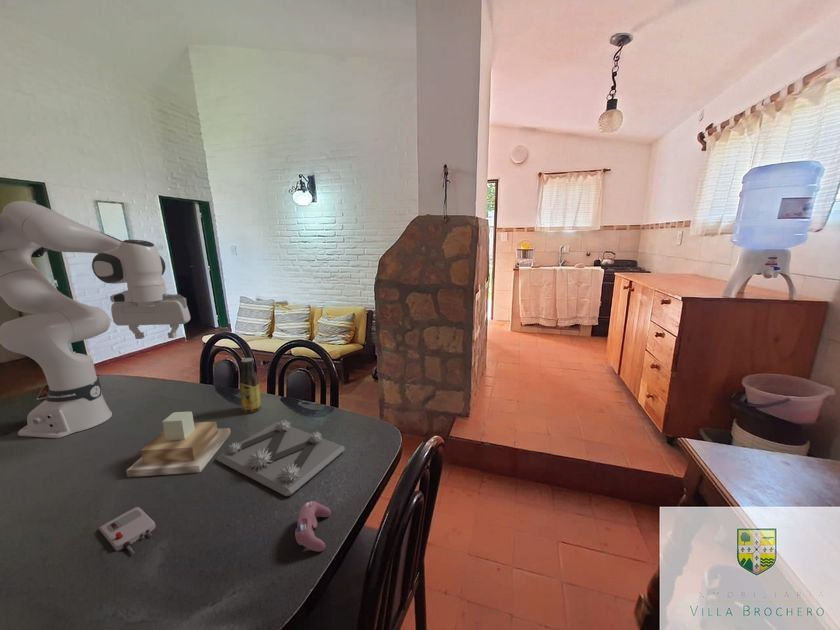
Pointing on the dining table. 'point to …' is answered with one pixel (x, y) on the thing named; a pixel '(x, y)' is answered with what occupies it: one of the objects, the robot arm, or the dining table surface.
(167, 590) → the dining table surface
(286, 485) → the decorative plate
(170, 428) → the sage block
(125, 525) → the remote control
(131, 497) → the dining table surface
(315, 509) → the video game controller
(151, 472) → the stacking base
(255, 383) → the sauce bottle
